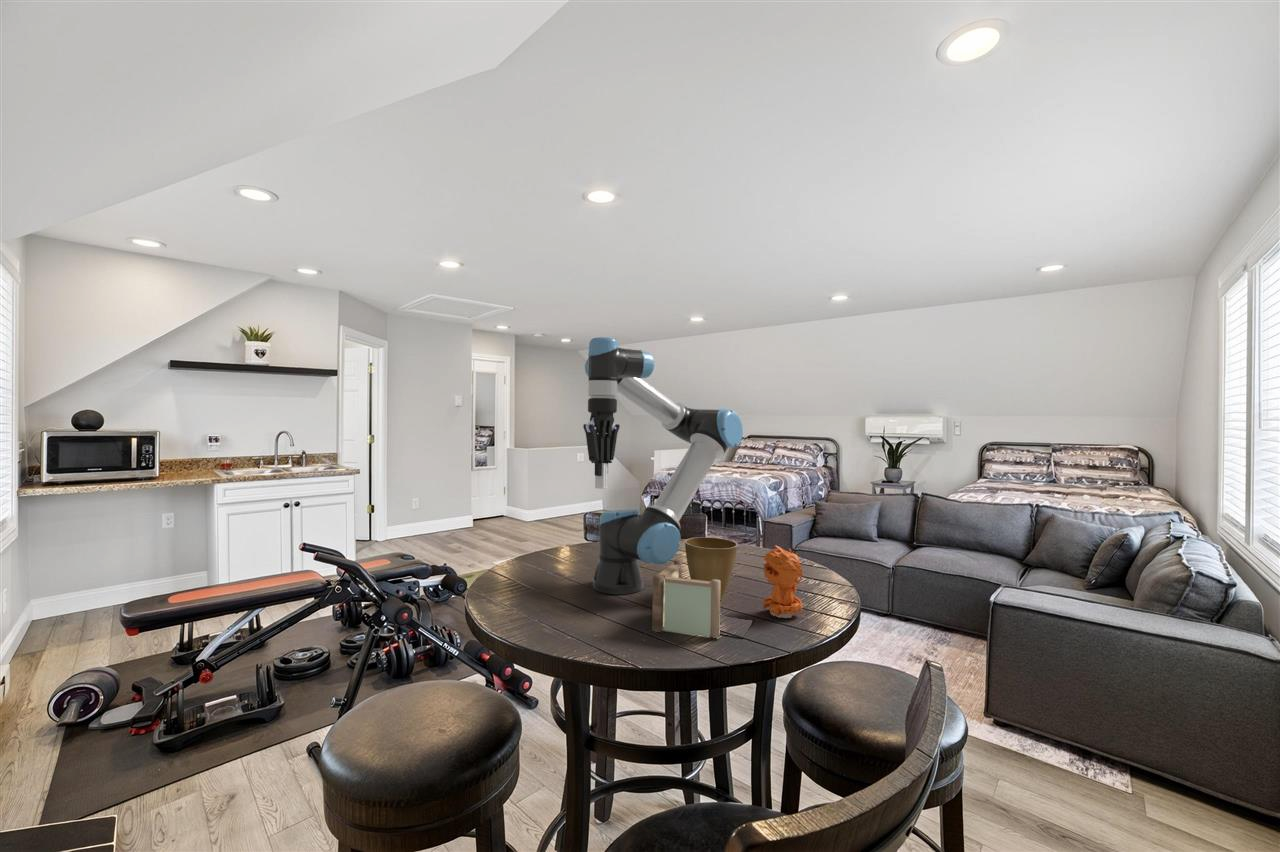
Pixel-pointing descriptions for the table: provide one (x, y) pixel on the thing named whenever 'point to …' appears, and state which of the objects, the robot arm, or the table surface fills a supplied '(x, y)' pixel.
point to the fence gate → (692, 606)
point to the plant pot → (711, 559)
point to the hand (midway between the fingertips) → (601, 488)
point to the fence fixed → (662, 593)
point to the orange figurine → (782, 581)
